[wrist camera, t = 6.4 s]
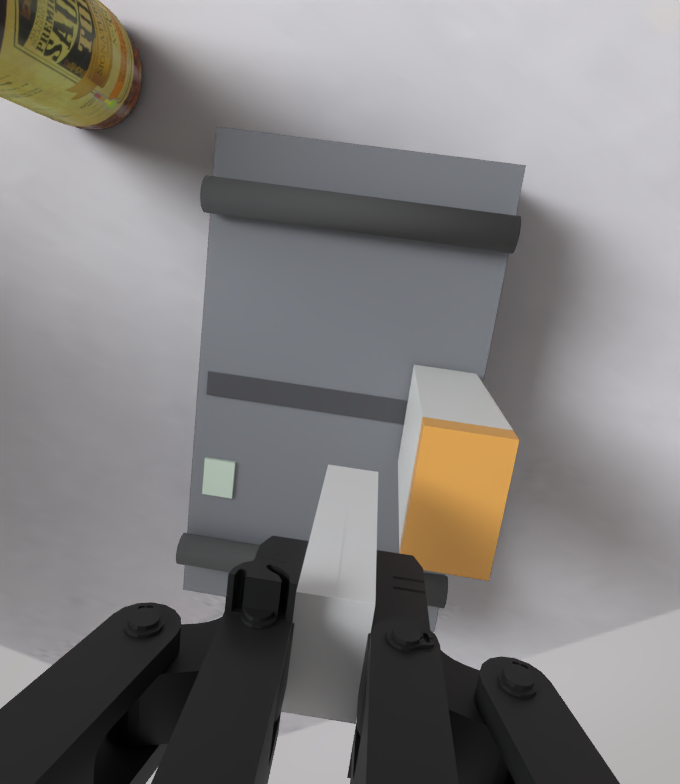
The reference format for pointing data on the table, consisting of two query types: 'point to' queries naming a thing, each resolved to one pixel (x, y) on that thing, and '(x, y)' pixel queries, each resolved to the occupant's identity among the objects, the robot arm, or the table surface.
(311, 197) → the pair of dark rails
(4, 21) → the sauce bottle
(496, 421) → the lever
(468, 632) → the table surface
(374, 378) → the switch panel
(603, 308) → the table surface
